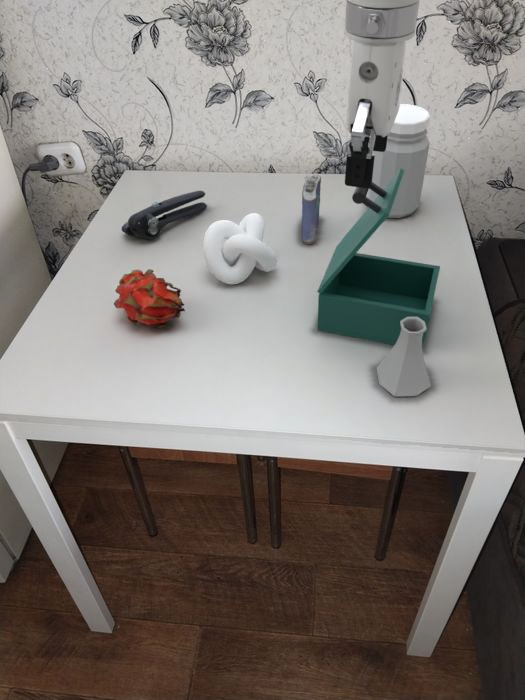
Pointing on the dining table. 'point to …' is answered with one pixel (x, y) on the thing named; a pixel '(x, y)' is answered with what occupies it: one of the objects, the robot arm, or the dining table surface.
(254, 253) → the white decorative knot
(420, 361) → the flask
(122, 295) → the dragon fruit
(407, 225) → the dining table surface
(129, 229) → the can opener
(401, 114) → the jar
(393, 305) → the box
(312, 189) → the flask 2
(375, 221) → the lunchbox lid
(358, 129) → the robot arm
